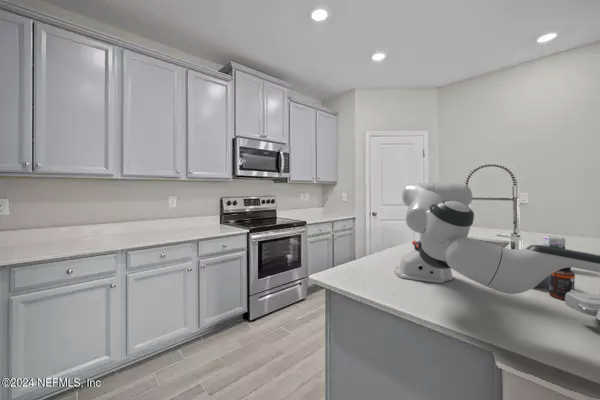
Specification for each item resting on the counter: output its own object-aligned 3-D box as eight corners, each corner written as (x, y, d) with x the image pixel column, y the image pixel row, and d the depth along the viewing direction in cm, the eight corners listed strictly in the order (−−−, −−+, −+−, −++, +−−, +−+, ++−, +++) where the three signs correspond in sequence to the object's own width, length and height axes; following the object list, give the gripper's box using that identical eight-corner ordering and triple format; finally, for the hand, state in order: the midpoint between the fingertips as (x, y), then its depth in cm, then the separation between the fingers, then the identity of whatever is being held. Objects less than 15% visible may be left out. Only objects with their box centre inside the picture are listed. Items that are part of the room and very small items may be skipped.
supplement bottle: (579, 301, 84) (580, 267, 83) (557, 300, 85) (559, 266, 85) (564, 294, 90) (565, 262, 89) (544, 293, 91) (545, 261, 90)
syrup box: (547, 269, 116) (549, 237, 116) (541, 265, 122) (542, 235, 121) (564, 271, 114) (566, 238, 113) (556, 267, 120) (558, 236, 119)
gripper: (588, 324, 65) (549, 301, 78) (697, 335, 60) (636, 308, 73) (589, 300, 64) (550, 280, 78) (699, 308, 60) (637, 286, 73)
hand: (592, 293), depth 76 cm, fingers open, 8 cm apart
